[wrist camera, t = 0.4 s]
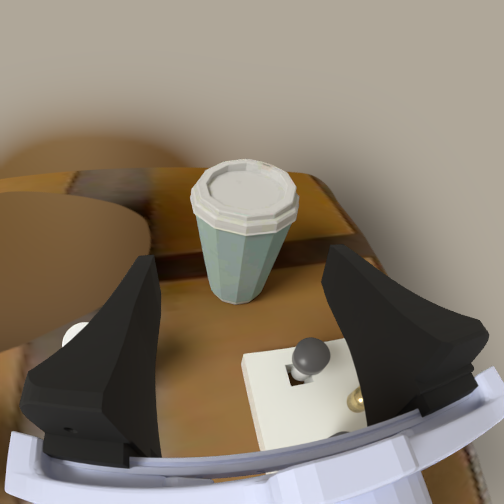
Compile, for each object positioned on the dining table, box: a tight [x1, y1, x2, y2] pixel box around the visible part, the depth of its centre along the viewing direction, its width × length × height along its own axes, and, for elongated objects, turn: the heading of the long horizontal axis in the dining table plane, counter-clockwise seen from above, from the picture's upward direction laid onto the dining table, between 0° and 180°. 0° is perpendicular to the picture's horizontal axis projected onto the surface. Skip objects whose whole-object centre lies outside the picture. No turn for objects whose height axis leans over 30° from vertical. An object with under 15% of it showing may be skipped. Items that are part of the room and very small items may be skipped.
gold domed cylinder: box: [347, 386, 365, 413], centre depth 24 cm, size 2×2×3 cm
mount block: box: [241, 338, 367, 475], centre depth 25 cm, size 18×12×2 cm, turn 12°
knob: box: [291, 338, 330, 381], centre depth 26 cm, size 3×3×4 cm
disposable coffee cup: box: [190, 159, 299, 305], centre depth 33 cm, size 11×11×15 cm
